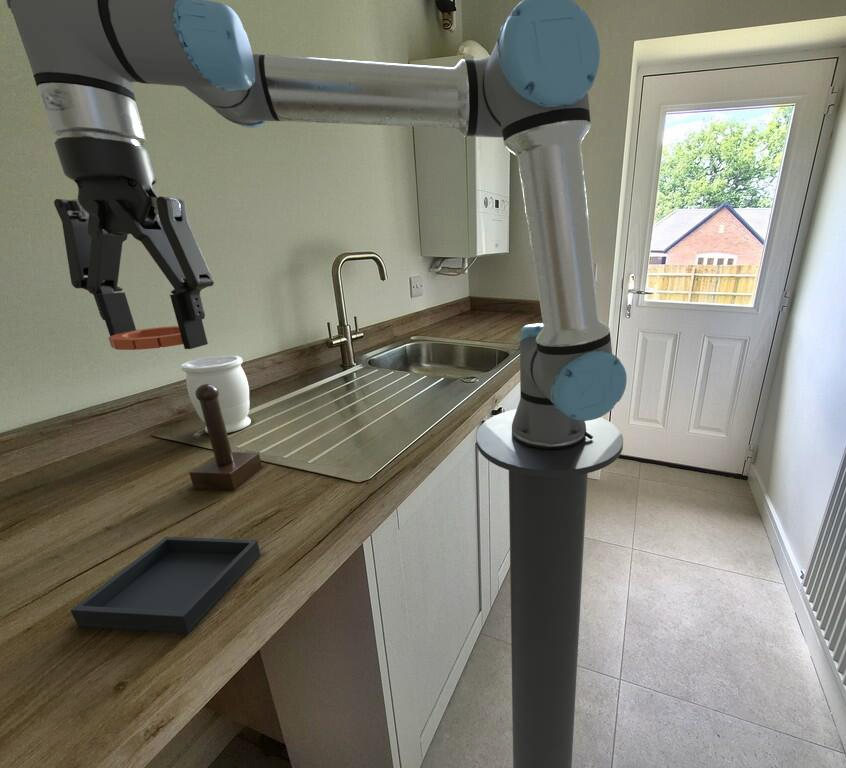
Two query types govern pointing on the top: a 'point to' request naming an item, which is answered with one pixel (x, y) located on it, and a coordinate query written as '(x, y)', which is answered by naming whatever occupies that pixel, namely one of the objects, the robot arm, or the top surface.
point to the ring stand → (221, 449)
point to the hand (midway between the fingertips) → (161, 346)
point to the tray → (168, 585)
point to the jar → (221, 387)
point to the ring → (147, 338)
